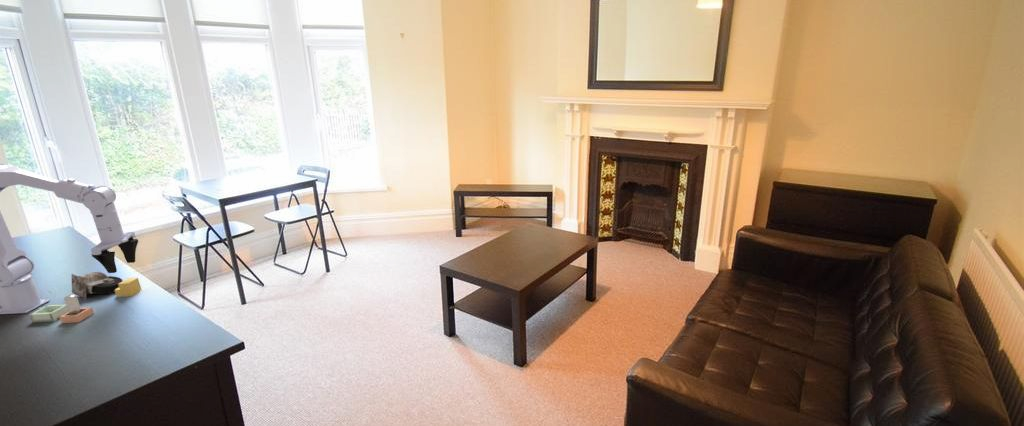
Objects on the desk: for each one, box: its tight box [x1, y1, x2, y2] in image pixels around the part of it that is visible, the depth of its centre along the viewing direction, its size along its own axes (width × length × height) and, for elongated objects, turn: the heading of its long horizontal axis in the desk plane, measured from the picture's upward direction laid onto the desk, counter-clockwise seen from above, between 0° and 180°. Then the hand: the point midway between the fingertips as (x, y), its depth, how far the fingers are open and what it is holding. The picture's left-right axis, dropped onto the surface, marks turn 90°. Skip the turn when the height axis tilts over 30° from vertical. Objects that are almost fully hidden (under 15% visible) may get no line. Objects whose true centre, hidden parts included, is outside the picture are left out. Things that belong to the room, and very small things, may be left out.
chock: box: [114, 277, 143, 297], centre depth 150 cm, size 5×4×4 cm
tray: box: [29, 303, 69, 323], centre depth 138 cm, size 6×5×2 cm
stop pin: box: [63, 293, 82, 315], centre depth 136 cm, size 3×3×7 cm
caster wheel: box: [71, 271, 123, 300], centre depth 153 cm, size 7×11×10 cm
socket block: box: [59, 306, 95, 324], centre depth 137 cm, size 5×5×2 cm
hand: (122, 267), depth 148 cm, fingers open, 7 cm apart
